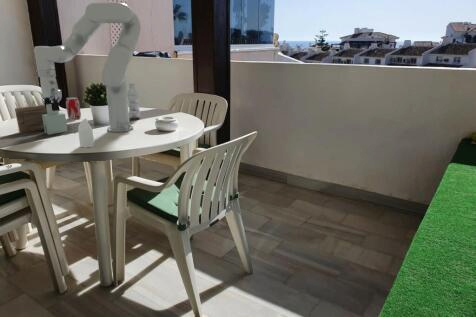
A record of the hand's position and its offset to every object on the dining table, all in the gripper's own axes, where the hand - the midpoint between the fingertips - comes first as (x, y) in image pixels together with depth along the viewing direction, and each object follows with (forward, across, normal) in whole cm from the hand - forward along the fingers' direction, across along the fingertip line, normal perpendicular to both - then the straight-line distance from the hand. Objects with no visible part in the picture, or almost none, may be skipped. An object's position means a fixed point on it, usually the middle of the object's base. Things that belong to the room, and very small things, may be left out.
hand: (52, 109), depth 173 cm
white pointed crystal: (+12, -36, 0) cm, 38 cm away
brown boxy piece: (+12, +13, +5) cm, 18 cm away
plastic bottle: (+11, +2, -45) cm, 47 cm away
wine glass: (+12, +48, -18) cm, 52 cm away
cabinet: (+12, 0, 0) cm, 12 cm away
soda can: (+12, +27, -20) cm, 36 cm away
